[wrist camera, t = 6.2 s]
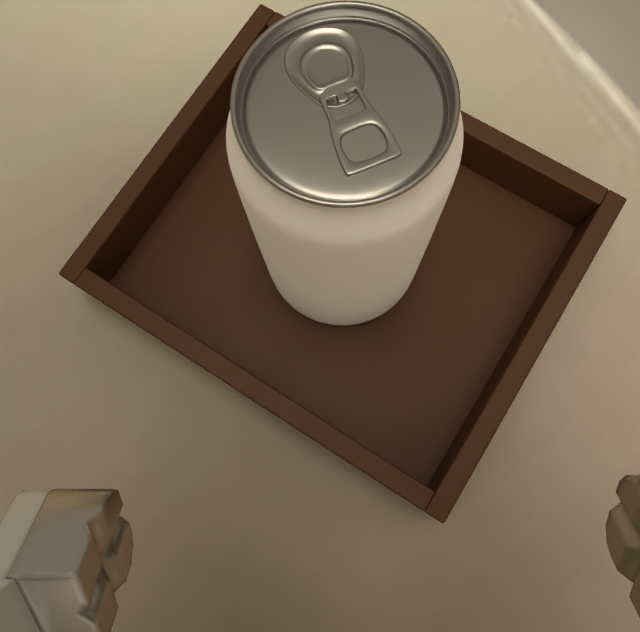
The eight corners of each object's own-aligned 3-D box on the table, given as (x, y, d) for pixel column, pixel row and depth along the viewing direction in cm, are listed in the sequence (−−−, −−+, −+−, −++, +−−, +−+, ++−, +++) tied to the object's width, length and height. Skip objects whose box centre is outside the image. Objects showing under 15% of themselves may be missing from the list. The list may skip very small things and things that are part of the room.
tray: (85, 291, 27) (57, 273, 24) (267, 44, 29) (260, 2, 26) (431, 516, 24) (443, 524, 21) (598, 224, 27) (627, 198, 24)
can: (379, 166, 27) (410, -51, 15) (441, 293, 26) (526, 161, 14) (246, 220, 27) (175, 40, 15) (302, 351, 25) (270, 266, 14)
